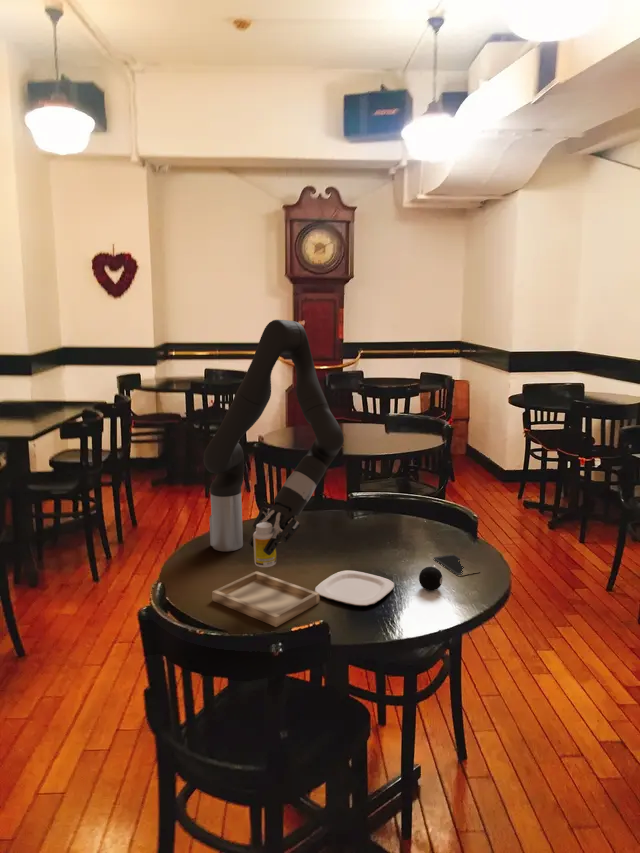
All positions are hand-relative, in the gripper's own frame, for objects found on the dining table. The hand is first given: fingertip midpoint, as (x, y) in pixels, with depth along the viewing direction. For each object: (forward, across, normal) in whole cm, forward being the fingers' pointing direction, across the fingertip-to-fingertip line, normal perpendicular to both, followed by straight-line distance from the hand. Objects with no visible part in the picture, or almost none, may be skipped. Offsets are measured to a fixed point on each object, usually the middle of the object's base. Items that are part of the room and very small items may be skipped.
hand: (259, 549), depth 167 cm
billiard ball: (-16, +23, +38) cm, 47 cm away
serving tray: (+9, 0, +11) cm, 15 cm away
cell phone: (-28, +18, +50) cm, 60 cm away
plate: (-5, +10, +27) cm, 29 cm away
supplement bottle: (+2, 0, +4) cm, 5 cm away
